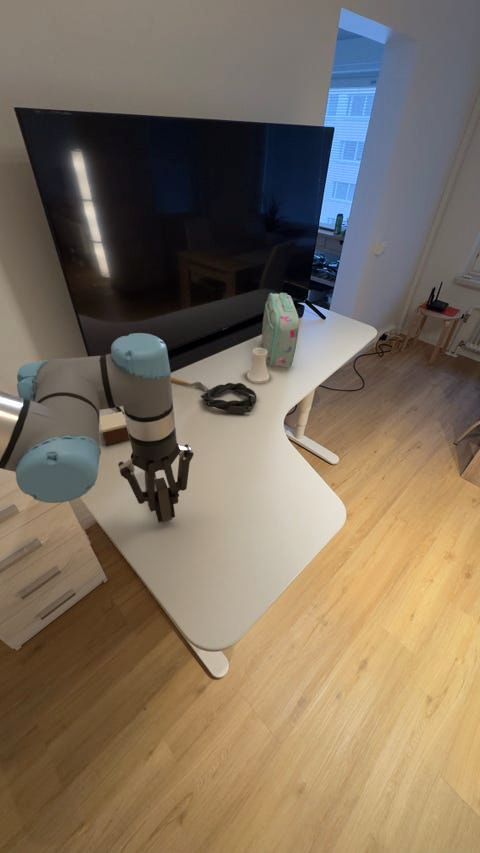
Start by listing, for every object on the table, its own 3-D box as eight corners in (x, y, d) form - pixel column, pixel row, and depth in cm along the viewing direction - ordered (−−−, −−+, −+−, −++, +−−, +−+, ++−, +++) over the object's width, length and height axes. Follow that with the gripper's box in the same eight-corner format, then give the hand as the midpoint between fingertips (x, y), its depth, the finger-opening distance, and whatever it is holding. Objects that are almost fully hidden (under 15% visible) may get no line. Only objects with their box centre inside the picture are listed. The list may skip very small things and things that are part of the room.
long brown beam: (162, 522, 70) (157, 491, 64) (143, 466, 82) (137, 435, 75) (171, 519, 71) (167, 488, 64) (152, 464, 82) (147, 432, 76)
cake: (106, 446, 89) (101, 430, 86) (103, 432, 94) (98, 416, 90) (129, 440, 91) (126, 424, 88) (125, 426, 96) (121, 411, 92)
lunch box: (258, 338, 141) (262, 285, 127) (283, 338, 142) (290, 285, 128) (266, 372, 121) (272, 313, 107) (295, 372, 121) (304, 313, 108)
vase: (266, 371, 121) (269, 345, 115) (270, 383, 116) (273, 356, 109) (245, 372, 120) (247, 346, 114) (248, 383, 115) (250, 357, 108)
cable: (197, 412, 102) (196, 400, 99) (204, 386, 112) (204, 375, 110) (254, 417, 101) (255, 405, 98) (256, 390, 112) (257, 379, 109)
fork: (155, 374, 114) (208, 388, 108) (158, 371, 115) (210, 384, 109) (157, 380, 116) (209, 394, 110) (160, 376, 117) (212, 390, 111)
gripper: (188, 405, 61) (193, 490, 76) (100, 425, 56) (124, 512, 71) (203, 431, 56) (205, 516, 71) (107, 455, 51) (132, 542, 66)
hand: (165, 514), depth 71 cm, fingers closed on long brown beam, 2 cm apart
